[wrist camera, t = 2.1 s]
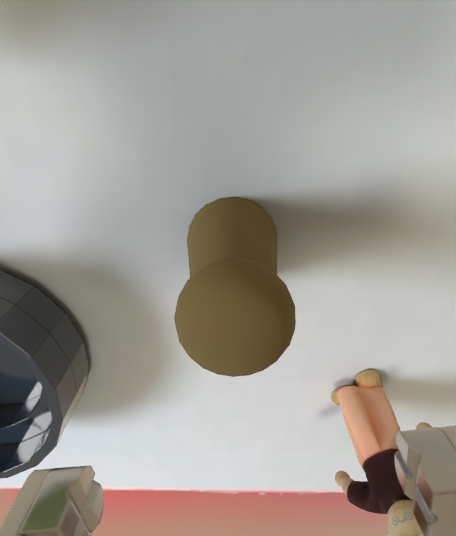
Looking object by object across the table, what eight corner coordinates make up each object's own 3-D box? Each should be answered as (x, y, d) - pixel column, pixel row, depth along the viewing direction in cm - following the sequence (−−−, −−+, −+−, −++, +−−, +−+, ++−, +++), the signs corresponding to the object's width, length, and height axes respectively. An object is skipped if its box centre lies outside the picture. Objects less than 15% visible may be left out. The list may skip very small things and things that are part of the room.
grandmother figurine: (368, 352, 28) (467, 528, 16) (402, 373, 29) (518, 554, 17) (305, 410, 30) (352, 597, 19) (338, 428, 31) (402, 616, 20)
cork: (202, 289, 25) (187, 411, 15) (174, 211, 23) (134, 295, 13) (285, 269, 25) (324, 382, 15) (265, 185, 22) (297, 254, 12)
